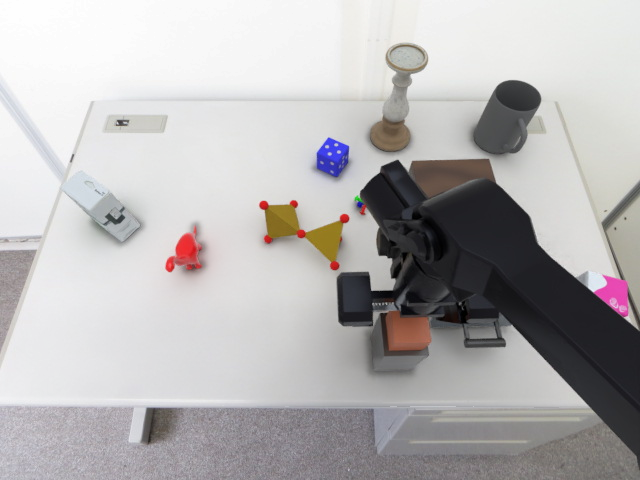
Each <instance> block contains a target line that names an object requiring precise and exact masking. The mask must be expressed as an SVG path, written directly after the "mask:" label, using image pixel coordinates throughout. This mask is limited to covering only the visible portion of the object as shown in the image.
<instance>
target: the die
mask: <svg viewBox="0 0 640 480" xmlns="http://www.w3.org/2000/svg"><path fill="white" fill-rule="evenodd" d="M349 155H350V146H349V145H348V144H345V143H343V142H342V141H339V140H336V139H334V138H332V137H327V138H326V139H325V140H324V142H323V143H322V145H321V146H320V147H319V149H318V150H317V152H316V169H318V170H320V171H322V172H325V173H326V174H328V175H330V176H333V177H335V178H338V177H339V176H340V174H341V173H342V172H343V170H344V168H345V167H346V166H347V164H348V163H349Z"/></svg>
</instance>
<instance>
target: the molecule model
mask: <svg viewBox="0 0 640 480" xmlns="http://www.w3.org/2000/svg"><path fill="white" fill-rule="evenodd" d="M356 201H357V202H356ZM354 202H356V205H357V207H358V208H359V209H360V208H361V210H360V211H358V213H359V214H360V215H362V216H364V215H366V213H365V211H366V209H367V208H366V206H365V205H364V203H363V201H362V200H361V198H360V195H359V194H357V195H356V196H354ZM258 207H259V209H260V210H262V211H264V217H265V225H266V226H265V227H266V232H267V233H266V235H264V237H263V241H264V242H265V244H271V243H272V242H273V239H277V238H283V237H284V238H285V237H290V236H296V237H297V238H298V239H301V240H302V239H306V240H307V241H308V242H309V243H310V244H311V245H312V246H313V247H314V248H315V249H316V250H318V251H319V252H320V253H321V254H322V255H323V257H325V258H326V259H327V260H328V261H329V262H330V263H329V269H330V270H332V271H334V272H335V271H337V270H340V264H339V262H338V261H337V257H338V252H339V247H340V243H341V242H342V241H343V238H342V232H343V228H344V224H348V223H349V222H350V216H349V214H348V213H342V214H341V215H340V216H339V220H337V221H334V222H331V223H328V224H326V225H323V226H320V227H317V228H314V229H311V230H308V231H305V229H303V228H302V229H301V227H300V224H299V220H298V215H297V212H296V209H297V208H298V207H299V203H298V201H297V200H295V199H291V200H290V202H289V204H269V203H268V201H267V200H260V202H259V203H258Z"/></svg>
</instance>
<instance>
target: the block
mask: <svg viewBox="0 0 640 480" xmlns="http://www.w3.org/2000/svg"><path fill="white" fill-rule="evenodd" d="M386 326H387V336H388V345H389V351H399V350H424V349H425V348H426V347H427V346H428V347H429V345H431V344H432V343H433V341H432V335H431V329H430V328H431V327H430V323H429V317H419V318H400V313H399V311H388V314H387V316H386Z"/></svg>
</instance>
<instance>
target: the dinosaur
mask: <svg viewBox="0 0 640 480" xmlns="http://www.w3.org/2000/svg"><path fill="white" fill-rule="evenodd" d="M196 236H197V226H196V224H195V225H194V229H193V232H188V231H187V232H185V233H183V234H182V235H181V236H180V238H179V239H178V241H177V243H176V246H175V248H174V255H169V256H168V258H167V259H166V262H165V267H164V269H165V271H166V272H168V273H172V272H174V270H175V267H176V266H177V267H184V266H185V269H186V270H187V271H189V270H193V268H195V269H197V270H198V269H201V268H202V266H203V265H202V264H201V263H200V260H199V257H198V255H199V252H200V250H202V248H203V247H202V245H201V244H200V242H198V241H197V239H196ZM193 266H194V267H193Z"/></svg>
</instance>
